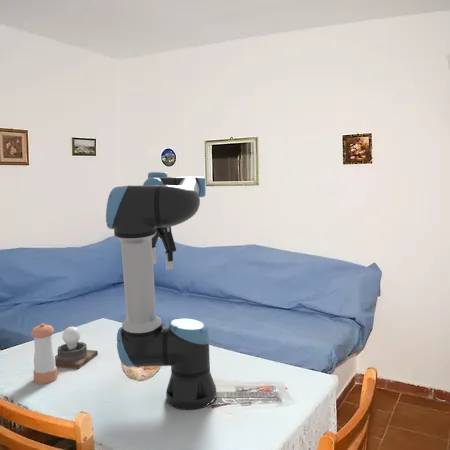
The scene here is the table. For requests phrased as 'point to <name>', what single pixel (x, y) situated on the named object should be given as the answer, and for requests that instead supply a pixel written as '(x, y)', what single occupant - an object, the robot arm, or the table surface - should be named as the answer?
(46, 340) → the salt shaker
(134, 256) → the robot arm
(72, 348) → the lightbulb
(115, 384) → the table surface
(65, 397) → the table surface
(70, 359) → the grey bowl on board
